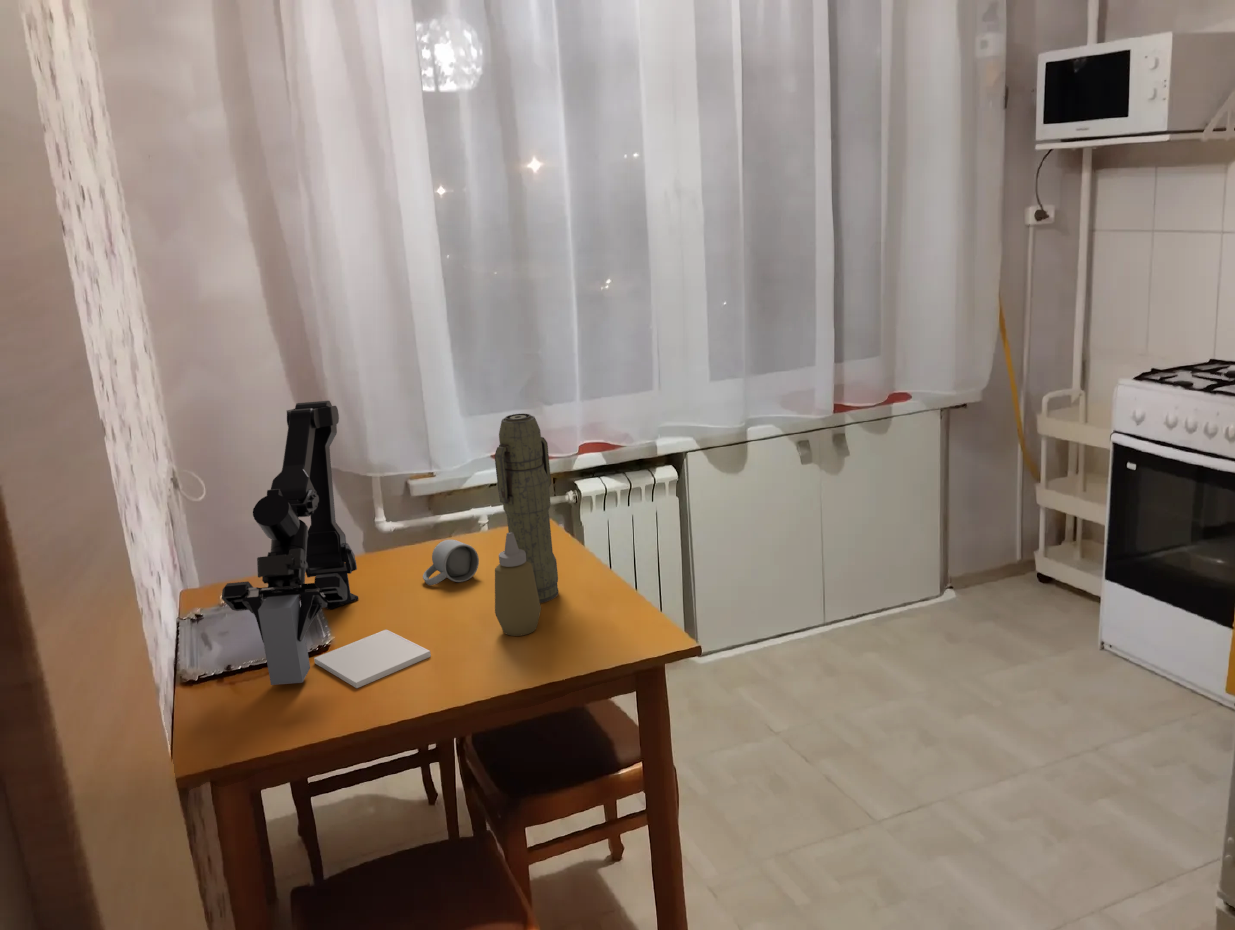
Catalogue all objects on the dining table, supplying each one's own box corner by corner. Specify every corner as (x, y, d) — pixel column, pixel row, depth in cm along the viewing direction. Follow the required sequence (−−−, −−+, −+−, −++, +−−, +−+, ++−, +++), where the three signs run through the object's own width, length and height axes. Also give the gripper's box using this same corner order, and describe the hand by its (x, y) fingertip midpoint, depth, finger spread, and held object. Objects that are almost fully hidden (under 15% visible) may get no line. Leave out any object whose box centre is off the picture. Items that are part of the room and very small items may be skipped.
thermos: (573, 587, 190) (557, 410, 181) (534, 610, 181) (515, 425, 172) (538, 580, 195) (520, 407, 186) (498, 601, 186) (478, 421, 177)
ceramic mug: (463, 565, 206) (459, 531, 204) (481, 576, 199) (477, 540, 197) (417, 580, 200) (411, 545, 198) (433, 591, 194) (428, 555, 192)
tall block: (279, 670, 161) (267, 597, 158) (310, 667, 162) (298, 594, 158) (270, 684, 157) (258, 610, 153) (302, 682, 157) (290, 607, 153)
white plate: (314, 663, 166) (314, 657, 166) (387, 634, 175) (386, 629, 175) (356, 688, 156) (355, 682, 156) (430, 656, 165) (430, 650, 165)
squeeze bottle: (487, 632, 173) (476, 536, 168) (521, 616, 179) (512, 522, 174) (517, 643, 168) (507, 544, 163) (552, 627, 173) (543, 530, 168)
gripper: (214, 537, 156) (203, 630, 148) (332, 526, 157) (328, 618, 149) (238, 565, 166) (229, 654, 158) (349, 555, 167) (346, 643, 159)
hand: (282, 642), depth 156 cm, fingers closed on tall block, 5 cm apart
